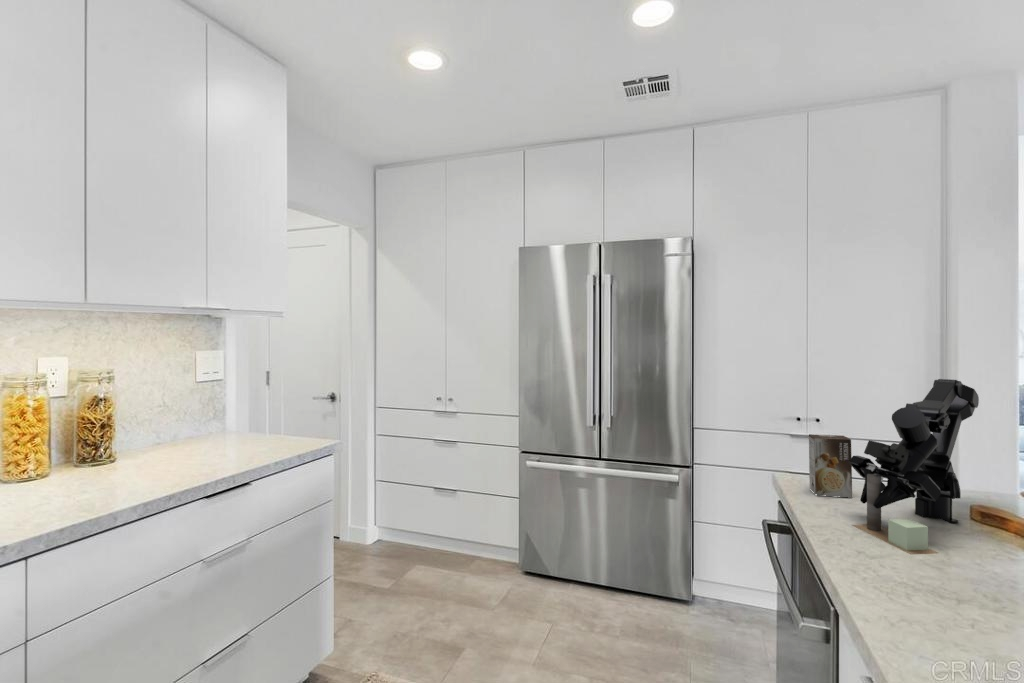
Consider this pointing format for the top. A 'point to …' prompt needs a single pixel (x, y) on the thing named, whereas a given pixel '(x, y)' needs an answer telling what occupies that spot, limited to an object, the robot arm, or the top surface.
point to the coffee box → (830, 465)
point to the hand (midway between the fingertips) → (868, 504)
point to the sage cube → (908, 534)
